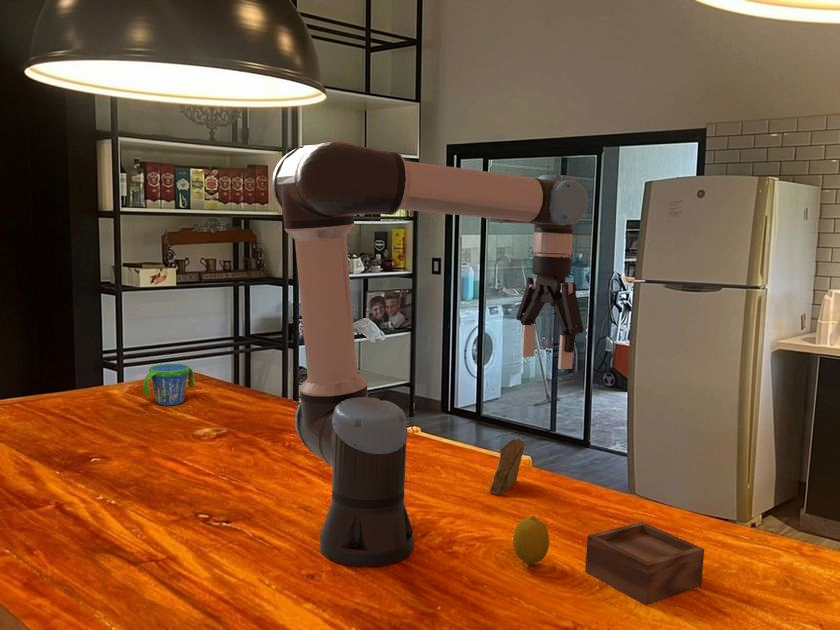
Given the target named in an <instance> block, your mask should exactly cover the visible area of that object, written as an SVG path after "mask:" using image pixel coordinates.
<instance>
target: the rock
mask: <svg viewBox="0 0 840 630" xmlns="http://www.w3.org/2000/svg"><path fill="white" fill-rule="evenodd" d="M524 449H525V443H524V441H523V440H521V439H520V438H514V439H511V440H510V441H509V442H507V443H506V444H505V445H504V446H503V447H501V448H500V450H499V452H500V453H499V459H498V461H497V462H498V463H497V466H496V469H495V474H494V475H493V479H492V483H491V486H490V489H489V490H488V491H489V493H490V494H492V495H495V496H501V495H502V494H503V493H505V492H506V491H508V489H510V488H512V486H513V485H516V483H517V480H518V476H519V472H520V465H521V460H522V457H523V455H524V454H523V453H524Z"/></svg>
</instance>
